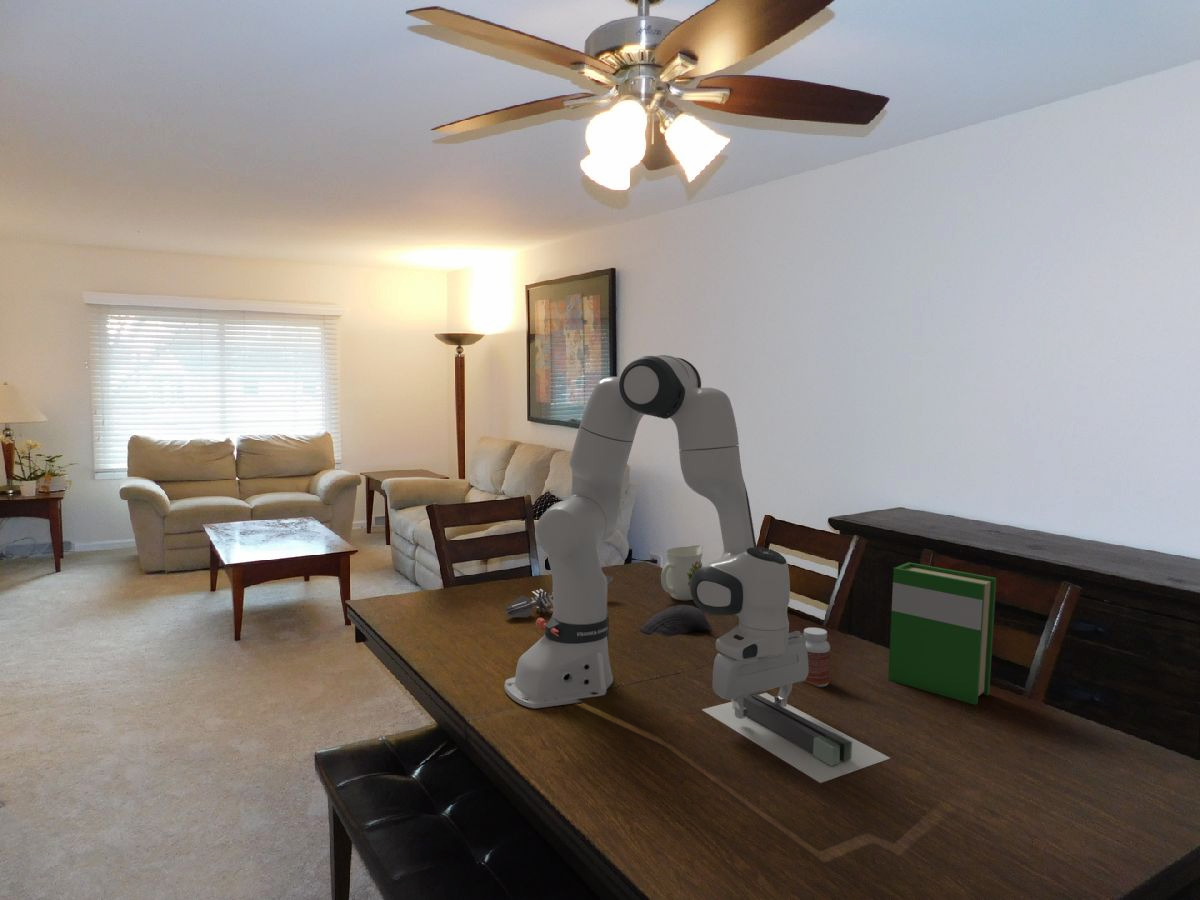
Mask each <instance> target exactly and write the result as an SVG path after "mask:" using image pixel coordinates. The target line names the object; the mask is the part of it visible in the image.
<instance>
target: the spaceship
mask: <svg viewBox="0 0 1200 900" xmlns="http://www.w3.org/2000/svg"><path fill="white" fill-rule="evenodd" d="M605 576H606V578H607V585H609V584H610V583H611V582H613V580H614V577H613V576H612V575H605ZM549 591H550V589H549V588H547V589H546V590H545V589H544V590H543V589H542V588H540V589H539V590H538V589H536V590H533V591H531V592H532V593H533V594H534V595H535V596H534V597H531V598H530V597H527V596H524V595H520V596H519V597H518V598H516V599H515V600H513V601H512V602H511V603H510V604H509V605H508V606H506V607H505V612H506V613H505V614H506V615H505V616H506V617H509V618H511V617H512V618H529V616H530V615H531V614H532V613H533V611H534V610H533V607H535V608H536V613H539V612H542V613H544V614H545V613H546V612H550V611H553V607H551V604H552V605H553V591H552V592H551V595H549V594H550V593H549ZM531 600H532V601H531Z"/></svg>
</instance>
